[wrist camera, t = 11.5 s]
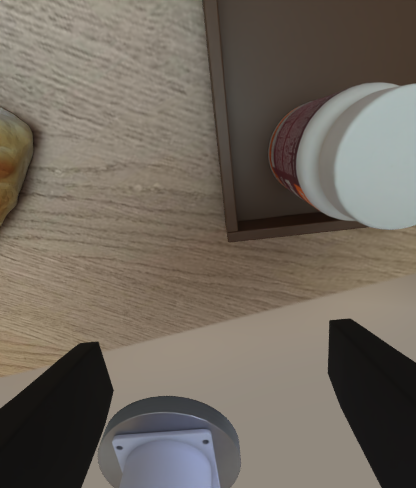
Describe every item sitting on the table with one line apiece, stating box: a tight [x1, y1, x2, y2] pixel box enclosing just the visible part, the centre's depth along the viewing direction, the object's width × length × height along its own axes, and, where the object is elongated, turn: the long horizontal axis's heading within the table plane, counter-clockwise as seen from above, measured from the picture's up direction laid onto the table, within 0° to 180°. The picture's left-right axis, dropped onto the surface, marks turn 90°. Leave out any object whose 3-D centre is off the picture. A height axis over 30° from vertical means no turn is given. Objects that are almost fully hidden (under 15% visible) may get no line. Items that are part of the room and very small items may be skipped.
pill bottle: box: [268, 82, 416, 230], centre depth 12 cm, size 5×5×8 cm
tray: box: [202, 0, 416, 242], centre depth 14 cm, size 16×13×3 cm
